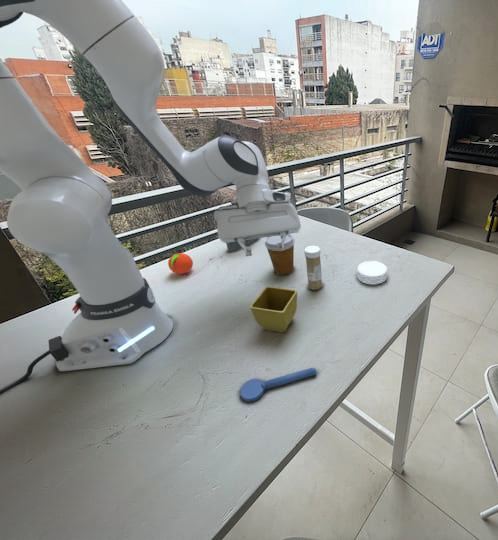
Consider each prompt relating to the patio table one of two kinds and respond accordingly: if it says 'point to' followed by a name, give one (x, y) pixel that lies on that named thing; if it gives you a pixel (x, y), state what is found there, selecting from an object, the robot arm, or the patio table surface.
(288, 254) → the disposable coffee cup
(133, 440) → the patio table surface
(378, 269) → the white round disc
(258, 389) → the spoon
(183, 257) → the clementine
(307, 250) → the sprinkles bottle
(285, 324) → the flower pot
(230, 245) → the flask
